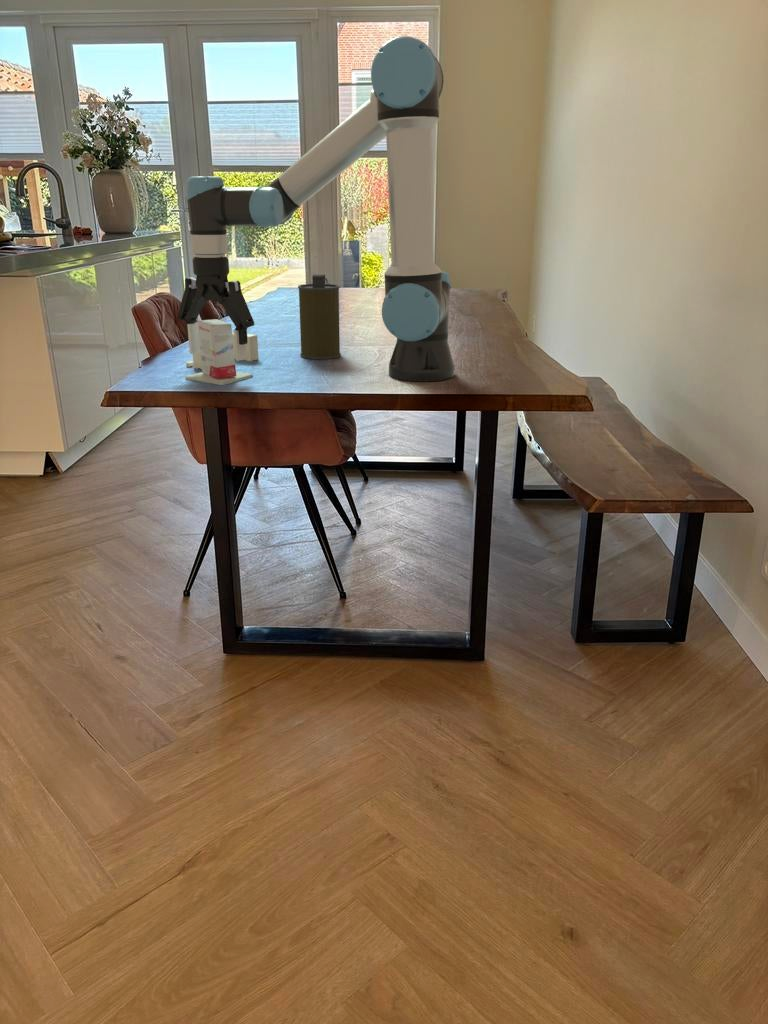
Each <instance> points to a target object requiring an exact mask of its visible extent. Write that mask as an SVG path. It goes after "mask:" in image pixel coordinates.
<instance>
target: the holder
mask: <svg viewBox="0 0 768 1024" xmlns="http://www.w3.org/2000/svg"><path fill="white" fill-rule="evenodd" d="M232 339H233V349H234V358H235V343H234V333H232ZM247 340H248V342H247V344H246V359H242V360H241V361H245V360H246V361H247V362H254V361H257V360H258V361H259V343H258V341H259V340H258V334H251V333H247ZM235 360H236V358H235ZM253 360H254V361H253ZM185 363H186V368H191V367H190V366H192V367H193V368H194V369H198V368H200V370H202V362H201V352H198V353H194V354H192V360H191V361H188V362H187V361H186V362H185Z"/></svg>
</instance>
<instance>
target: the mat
mask: <svg viewBox="0 0 768 1024" xmlns="http://www.w3.org/2000/svg"><path fill="white" fill-rule="evenodd" d="M253 375H254V374H252V373H246V372H241V371H236V376H234V377H228V378H222V379H216V378H214V377H211V376H209V375H206V374H204V373H203V371H202V372H197V373H194V374H190V375H185V380H189V381H196V382H201V383H206V384H212V385H219V386H226V385H228V384H232V383H236V382H240V381H243V380H246V379H250V378H253Z"/></svg>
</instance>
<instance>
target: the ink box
mask: <svg viewBox="0 0 768 1024" xmlns="http://www.w3.org/2000/svg"><path fill="white" fill-rule="evenodd" d="M196 321H197V322H196V323H198V331H199V341H200V351H201V362H202V369H201V370H202V372H203V373H204V374H206V375H209V376H211V377H214V378H216V379H222V378H228V377H234V376H236V372H237V370H236V359H235V358H234V349H233V339H232V334H233V331H232V323H229V322H226V321H223V320H220V319H217V318H215V319H214V318H213V319H203V320H202V319H201V320H196Z"/></svg>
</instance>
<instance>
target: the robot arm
mask: <svg viewBox="0 0 768 1024" xmlns="http://www.w3.org/2000/svg"><path fill="white" fill-rule="evenodd" d="M370 79H371V80H370V81H371V84H372V89H371V94H370V97H369V99H368V100H367V101H366V102H364V103H363V104H362V105H361V106H360V107H358V109H356V110H355V111H354V112H352V113H351V114H350V115H349V116H348V117H346V119H344V120H343V121H342V122H341V123H340V124H338V125H337V126H336V127H335V128H334V129H333V130H332V131H330V132H329V133H328V134H326V135H325V136H324V137H323V138H322V139H321V140H319V142H318V143H316V144H315V145H314V146H313V147H311V148H310V149H309V150H308V151H307V152H305V154H304V155H302V156H301V157H300V158H298V160H295V162H294V163H292V164H291V166H289V167H288V168H287V169H285V170H284V171H283V172H282V173H281V174H279V176H278V177H276V178H275V179H274V180H273V181H271V183H269V184H267V186H247V187H246V186H244V187H243V186H241V187H234V186H233V187H230V186H225V183H224V179H223V178H222V177H221V176H200V175H198V176H193V175H192V176H190V177H189V178H188V179H186V203H187V209H188V212H187V213H188V220H189V221H188V223H189V234H190V245H191V248H190V249H191V253H192V255H194V256H193V258H192V272H193V274H194V275H195V276H194V277H191V276H190V277H186V278H185V280H184V290H183V295H182V298H181V303H180V305H179V310H178V313H177V319H178V320H179V321H183V323H184V324H185V330H186V331H185V332H186V337H187V338H188V345H189V346H188V347H189V354H191V355H193V354H194V353H198V352H201V351H200V341H199V331H198V322H197V321H198V320H197V318H198V317H199V315H200V313H201V311H202V310H203V308H204V306H205V305H206V302H209V301H211V302H215V303H218V304H219V305H221V306H222V308H223V309H224V311H225V313H226V314H227V316H228V317H229V319H230V320H231V322H232V323H233V325H234V326H235V329H233V334H234V343H235V358H236V359H235V361H243V360H242V359H246V344H247V342H248V340H247V334H248V328H251V327H254V326H255V321H254V319H253V317H252V314H251V311H250V309H249V306H248V304H247V302H246V299H245V297H244V295H243V294H244V293H243V292H242V288H241V282H240V280H231V281H229V279H228V275H229V274H230V265H229V264H230V262H229V257H227V256H226V255H227V254H228V251H229V249H228V237H227V236H228V235H227V234H228V232H227V227H257V228H258V227H260V228H262V229H263V228H269V227H271V228H272V227H278V226H280V225H283V224H284V223H287V222H288V221H289V220H291V218H293V216H294V213H295V212H296V211H297V210H299V208H300V207H301V206H303V205H304V204H305V203H306V202H307V201H309V200H310V199H311V198H312V197H314V196H315V195H317V193H318V192H320V191H321V190H322V189H324V187H326V186H327V185H328V184H330V183H331V182H332V181H333V180H335V178H337V177H338V176H339V175H340V174H342V173H343V172H344V171H346V170H347V169H348V168H349V167H350V166H353V164H354V163H355V162H357V161H358V160H359V159H361V158H362V157H363V156H364V155H365V154H366V153H367V152H369V151H370V150H371V149H373V148H374V147H375V146H377V144H379V143H380V142H381V141H382V140H384V139H385V138H386V158H387V182H388V183H387V184H388V186H387V187H388V208H389V210H388V211H389V235H390V258H391V259H390V261H391V264H390V265H389V267H388V268H387V269H386V270H385V272H384V273H383V274H384V276H383V277H384V297H383V302H382V306H381V317H382V321H383V324H384V327H386V330H388V332H389V333H390V334H391V335H392V336H394V337H395V338H396V342H395V345H394V348H393V351H392V354H391V357H390V361H389V364H388V375H389V376H390V378H391V377H392V378H394V379H397V380H402V381H409V382H410V381H411V382H412V381H413V382H436V381H437V382H439V381H444V380H448V379H451V378H453V377H454V376H455V364H454V359H453V356H452V353H451V349H450V345H449V323H450V322H449V320H450V319H449V317H450V295H451V294H450V293H451V292H450V290H451V288H452V285H451V276H450V274H449V273H448V272H446V271H443V270H442V269H441V268H440V267H439V266H438V265H437V264H436V263H435V259H434V258H435V257H434V253H435V252H434V212H433V211H434V208H433V207H434V206H433V205H434V204H433V203H434V202H433V201H434V200H433V165H432V164H433V162H432V161H433V160H432V158H433V157H432V156H433V155H432V131H433V130H432V129H433V128H434V127H435V125H436V124H437V123H438V122H439V121H440V118H439V117H440V115H439V114H440V112H439V111H440V108H439V107H440V106H439V103H440V102H439V101H440V99H441V98H440V97H441V96H442V94H443V93H442V92H443V90H444V89H443V88H444V82H445V81H444V72H443V69H442V65H441V63H440V61H439V60H438V59H437V57H435V55H434V53H433V51H432V49H431V48H430V47H429V46H428V45H427V43H426V42H423V40H420V39H418V38H415V37H412V36H406V35H405V36H404V35H402V36H397V37H393V38H391V39H389V40H387V41H386V42H385V43H384V44H382V46H381V47H380V48H379V49H378V50H377V52H376V54H375V55H374V57H373V60H372V64H371V69H370Z"/></svg>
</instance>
